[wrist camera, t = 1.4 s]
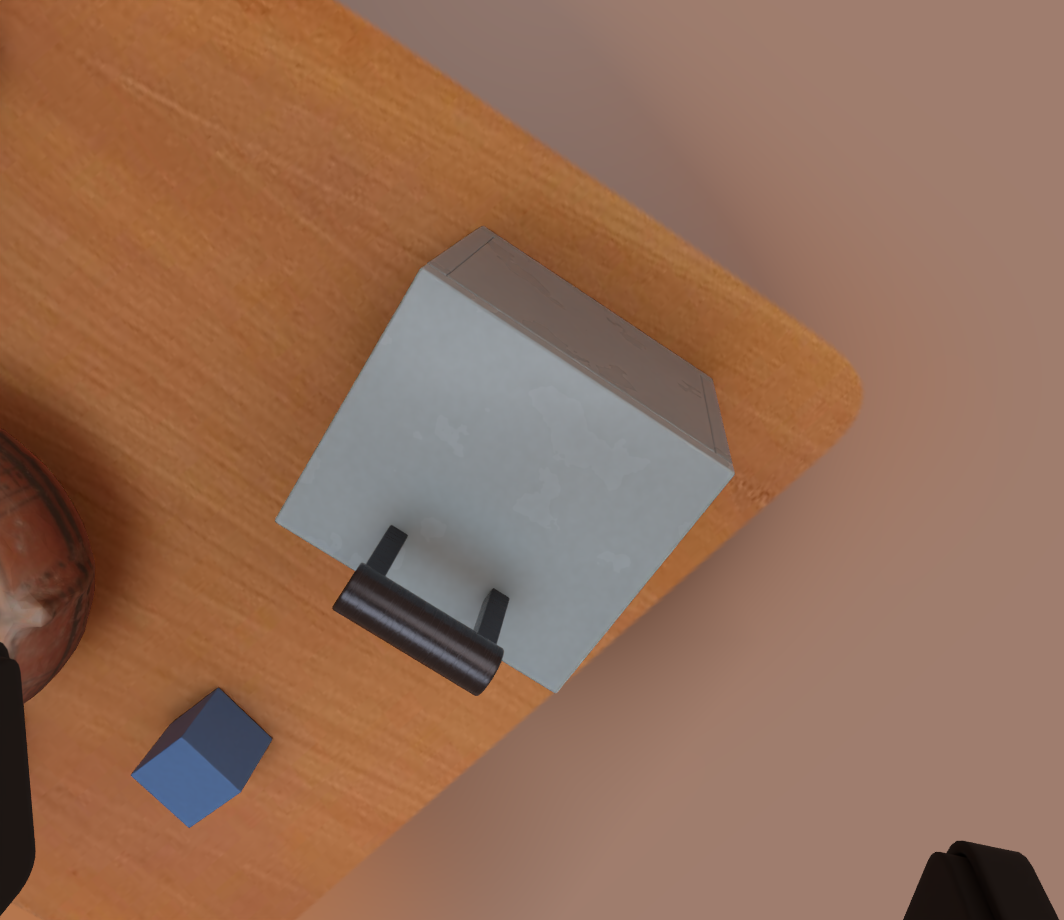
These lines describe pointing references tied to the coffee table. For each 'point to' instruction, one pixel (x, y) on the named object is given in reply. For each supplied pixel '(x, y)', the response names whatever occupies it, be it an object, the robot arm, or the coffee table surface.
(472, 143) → the coffee table surface
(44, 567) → the bowl
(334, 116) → the coffee table surface
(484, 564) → the freezer lid
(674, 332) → the coffee table surface
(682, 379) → the freezer
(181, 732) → the blue cube
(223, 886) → the coffee table surface
